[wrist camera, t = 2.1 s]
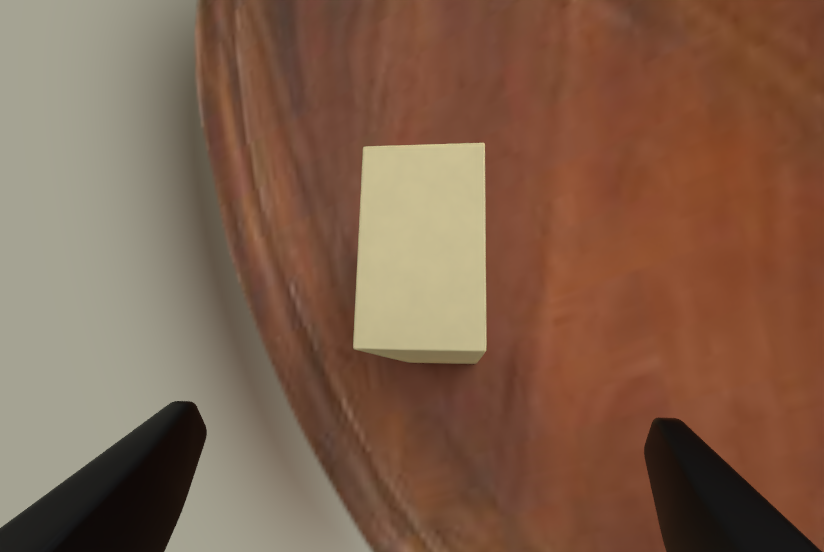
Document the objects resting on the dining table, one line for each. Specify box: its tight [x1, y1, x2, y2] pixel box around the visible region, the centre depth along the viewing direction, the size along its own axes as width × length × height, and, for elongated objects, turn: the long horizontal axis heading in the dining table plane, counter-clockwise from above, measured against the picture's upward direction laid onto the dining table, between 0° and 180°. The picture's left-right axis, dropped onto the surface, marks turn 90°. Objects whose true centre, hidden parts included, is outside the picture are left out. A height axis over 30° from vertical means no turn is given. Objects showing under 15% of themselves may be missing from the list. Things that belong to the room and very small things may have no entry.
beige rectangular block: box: [353, 143, 486, 364], centre depth 16 cm, size 5×3×10 cm, turn 179°
